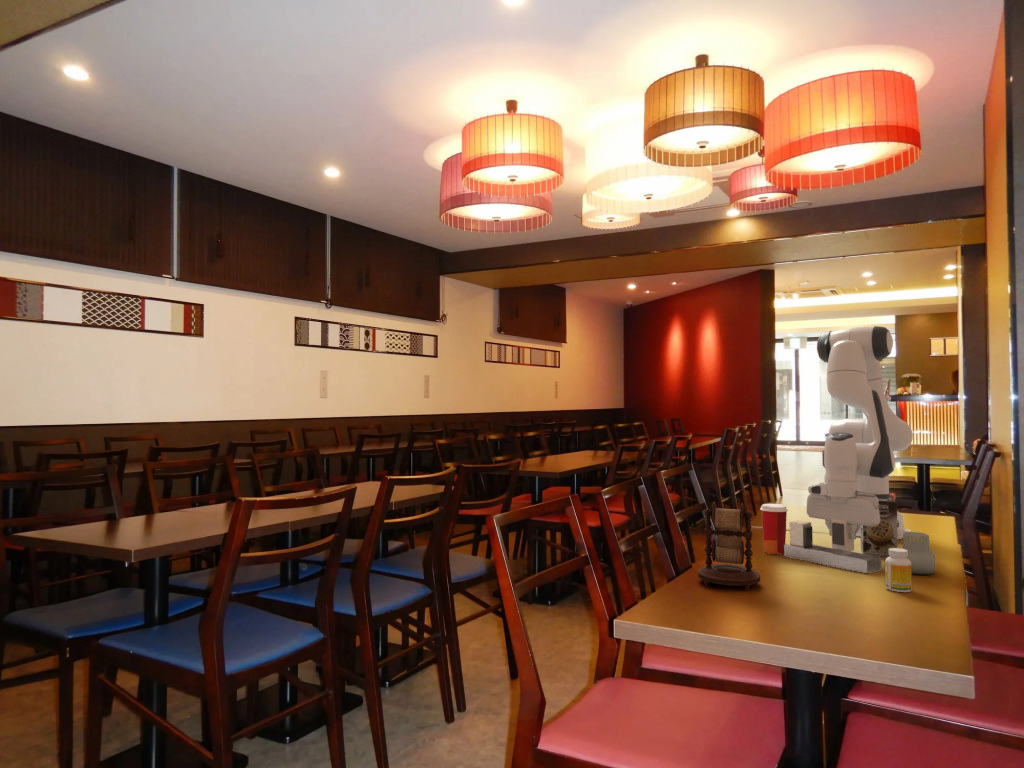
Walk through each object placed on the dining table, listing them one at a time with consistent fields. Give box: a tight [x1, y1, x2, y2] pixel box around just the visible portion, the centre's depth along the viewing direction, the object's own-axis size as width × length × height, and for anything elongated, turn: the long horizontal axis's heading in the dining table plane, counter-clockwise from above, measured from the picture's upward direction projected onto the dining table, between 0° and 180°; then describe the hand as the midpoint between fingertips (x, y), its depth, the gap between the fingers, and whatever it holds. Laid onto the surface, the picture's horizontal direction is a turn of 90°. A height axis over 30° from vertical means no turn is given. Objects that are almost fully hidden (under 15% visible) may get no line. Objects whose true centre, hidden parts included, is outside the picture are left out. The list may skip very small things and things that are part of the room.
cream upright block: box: [831, 519, 855, 552], centre depth 193 cm, size 5×4×9 cm
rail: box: [783, 520, 882, 574], centre depth 186 cm, size 7×24×10 cm, turn 34°
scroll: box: [697, 501, 761, 591], centre depth 167 cm, size 15×15×20 cm
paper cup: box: [759, 503, 788, 555], centre depth 200 cm, size 8×8×14 cm
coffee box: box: [860, 499, 898, 558], centre depth 197 cm, size 9×6×16 cm
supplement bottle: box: [884, 547, 912, 593], centre depth 160 cm, size 5×5×10 cm
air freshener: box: [901, 531, 937, 575], centre depth 177 cm, size 11×8×10 cm
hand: (842, 537), depth 194 cm, fingers closed on cream upright block, 4 cm apart
